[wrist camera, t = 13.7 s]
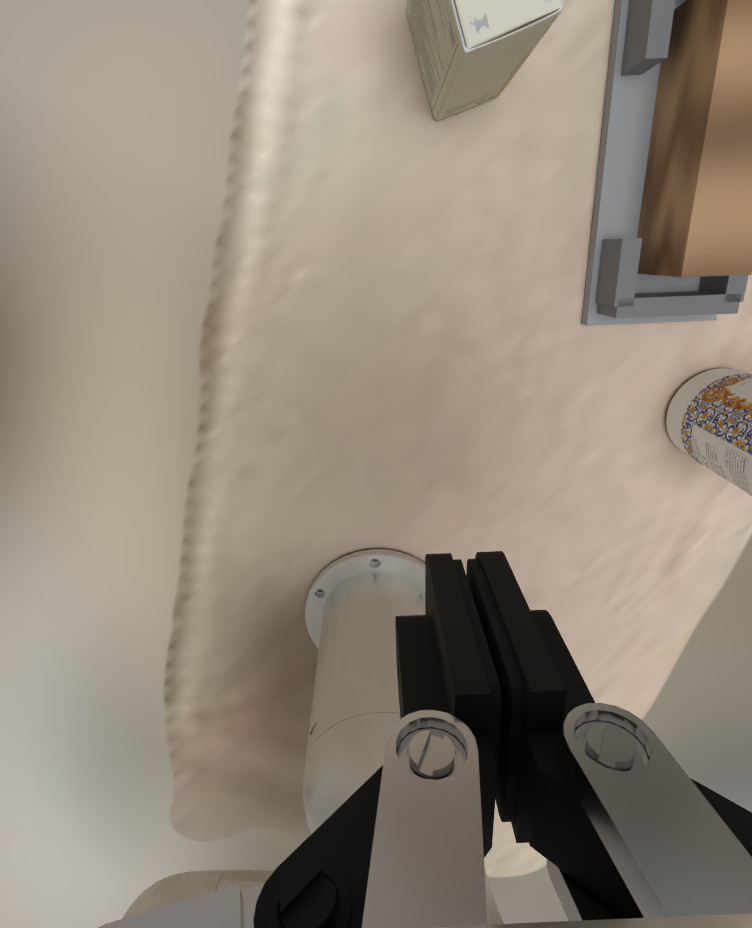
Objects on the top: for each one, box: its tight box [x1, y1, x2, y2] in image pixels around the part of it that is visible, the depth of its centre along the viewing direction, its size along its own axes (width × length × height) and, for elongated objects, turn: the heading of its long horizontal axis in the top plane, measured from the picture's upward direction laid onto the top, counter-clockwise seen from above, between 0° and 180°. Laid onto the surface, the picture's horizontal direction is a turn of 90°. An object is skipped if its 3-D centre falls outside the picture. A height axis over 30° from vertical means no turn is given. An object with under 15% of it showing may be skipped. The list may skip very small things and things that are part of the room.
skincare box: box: [407, 0, 563, 121], centre depth 26 cm, size 6×4×12 cm
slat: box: [637, 0, 752, 277], centre depth 30 cm, size 14×4×6 cm, turn 2°
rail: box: [582, 0, 748, 325], centre depth 32 cm, size 20×9×4 cm, turn 2°
